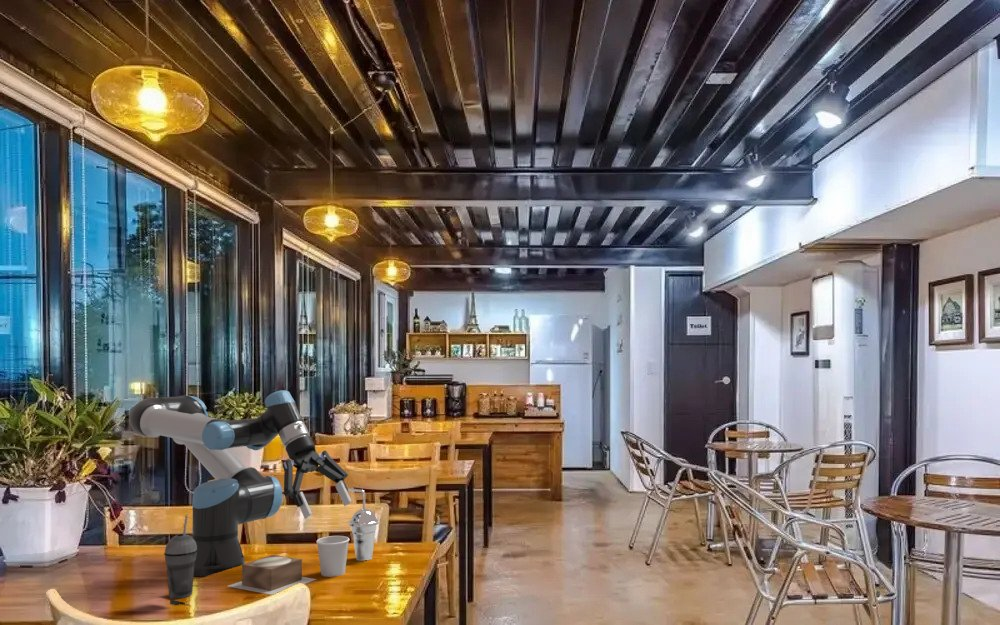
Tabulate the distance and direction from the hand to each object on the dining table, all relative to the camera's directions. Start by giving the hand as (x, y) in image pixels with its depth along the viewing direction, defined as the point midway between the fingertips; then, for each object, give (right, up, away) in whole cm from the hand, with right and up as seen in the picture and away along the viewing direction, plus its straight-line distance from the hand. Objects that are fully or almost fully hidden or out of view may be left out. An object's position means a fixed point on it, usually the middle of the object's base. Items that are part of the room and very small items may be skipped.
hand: (328, 509), depth 200 cm
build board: (-10, -15, -17) cm, 25 cm away
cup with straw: (+7, -17, +10) cm, 21 cm away
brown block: (-10, -13, -17) cm, 24 cm away
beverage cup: (-29, -15, -26) cm, 42 cm away
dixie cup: (+3, -15, -10) cm, 18 cm away
